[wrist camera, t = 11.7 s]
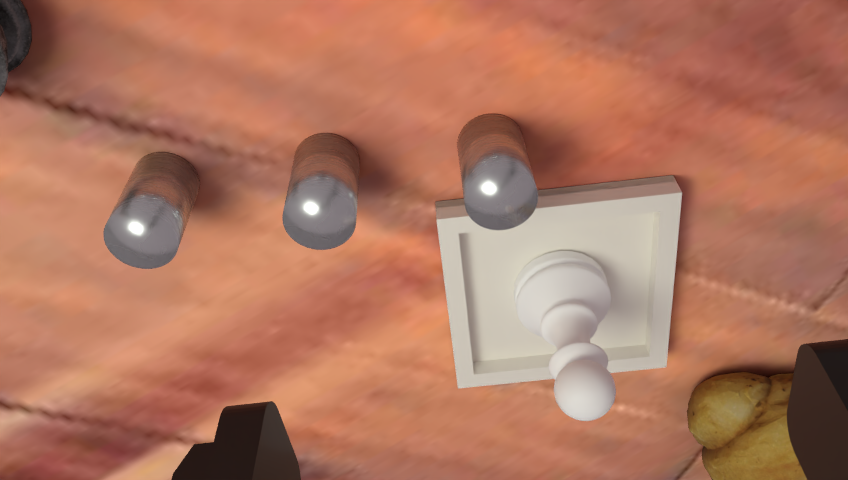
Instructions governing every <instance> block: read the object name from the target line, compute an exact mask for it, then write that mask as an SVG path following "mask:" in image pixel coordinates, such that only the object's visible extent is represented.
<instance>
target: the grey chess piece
mask: <svg viewBox="0 0 848 480" xmlns="http://www.w3.org/2000/svg"><path fill="white" fill-rule="evenodd" d="M31 41H32V36H31V24H30V20H29V17H28V14H27V11H26V9H25V7H24V5H23V4H22V2H21V0H0V96H1V95H2V93H3V92H4V90H5V86H6V82H7V79H8V73H9V72H10V71H11V70H13V69H14V68H16V67H17V66H19V65H20V64H21V62H22V61H23V59H24V58H25V57H26V55H27V54H28V51H29V48H30V44H31Z"/></svg>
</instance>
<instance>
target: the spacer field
mask: <svg viewBox="0 0 848 480" xmlns="http://www.w3.org/2000/svg"><path fill="white" fill-rule="evenodd" d="M457 148H458V156H459V164H460V172H461V179H462V187H463V195H464V203H465V209H466V211H467V214H468V215H469V217H470V218H471V219H472V220H473V221H474V222H475V223H476V224H478V225H480V226H481V227H484V228H487V229H491V230H507V229H511V228H514V227H516V226H518V225H520V224H522V223H524V222H525V221H526V220H527V219H528V218H529V217H530V216H531V215H532V214H533V212H534V211H535V209H536V206H537V203H538V191H537V188H536V184H535V180H534V176H533V173H532V169H531V165H530V161H529V158H528V154H527V150H526V146H525V142H524V139H523V135H522V132H521V130H520V128H519V126H518V125H517V124H516V123H515V122H514V121H513V120H512V119H510V118H508V117H506V116H503V115H499V114H485V115H481V116H478V117H476V118H474V119H472V120H471V121H470V122H468V123H467V124H466V125H465V126H464V128H463V129H462V130H461V132H460V134H459V137H458V142H457ZM359 170H360V158H359V155H358V152H357V150H356V149H355V147H354V146H353V145H352V144H351V143H350V142H349V141H348V140H346V139H345V138H343V137H341V136H338V135H335V134H330V133H320V134H316V135H312V136H310V137H308V138H307V139H305V140H304V141H303V142H302V143H301V144H300V145H299V146H298V148H297V150H296V152H295V156H294V161H293V166H292V171H291V176H290V181H289V186H288V191H287V196H286V201H285V206H284V211H283V225H284V227H285V230H286V232H287V233H288V235H289V236H290V237H291V238H292V239H293V240H294V241H296V242H297V243H299V244H300V245H302V246H305V247H307V248H311V249H317V250H325V249H331V248H335V247H337V246H340V245H342V244H343V243H345V242H346V241H347V240H348V239H349V238H350V237H351V236H352V234H353V232H354V230H355V226H356V214H357V199H358V185H359ZM199 188H200V180H199V177H198V174H197V172H196V170H195V169H194V168H193V166H192V165H191V164H190V163H189V162H187V161H186V160H185V159H183V158H181V157H179V156H177V155H175V154H171V153H166V152H156V153H152V154H148V155H146V156H144V157H143V158H142V159H140V160H139V161H138V163H137V164H136V166H135V168H134V170H133V172H132V174H131V176H130V178H129V180H128V182H127V184H126V186H125V188H124V190H123V192H122V194H121V196H120V198H119V200H118V202H117V204H116V206H115V208H114V210H113V212H112V214H111V216H110V218H109V219H108V221H107V223H106V225H105V228H104V241H105V244H106V246H107V248H108V249H109V251H110V252H111V253H112V254H113V255H114V256H115V257H116V258H117V259H119V260H120V261H122V262H123V263H125V264H128V265H130V266H133V267H137V268H142V269H152V268H158V267H161V266H163V265H165V264H167V263H169V262H170V261H171V260H172V259H173V258H174V256H175V255H176V252H177V250H178V247H179V244H180V242H181V239H182V236H183V233H184V231H185V228H186V225H187V222H188V219H189V217H190V214H191V211H192V208H193V206H194V203H195V200H196V197H197V195H198V192H199Z"/></svg>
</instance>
